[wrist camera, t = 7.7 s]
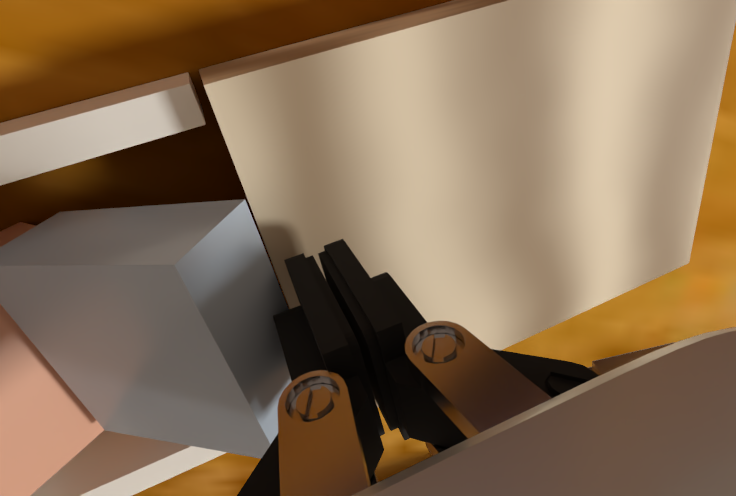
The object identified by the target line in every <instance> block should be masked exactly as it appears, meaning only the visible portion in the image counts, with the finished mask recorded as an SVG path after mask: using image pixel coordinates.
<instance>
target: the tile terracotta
mask: <svg viewBox="0 0 736 496" xmlns="http://www.w3.org/2000/svg"><path fill="white" fill-rule="evenodd" d="M35 226H36V225H31V224H27V223H22V222H19V223H17V224H15V225H12V226H10V227H8V228H6V229H4V230H2V231H0V247H2V246H3V245H5V244H7V243H8V242H10V241H12V240H13V239H15V238H17V237H18V236H20V235H22V234H23V233H25V232H27V231H29V230H30V229H32V228H34V227H35ZM103 431H104V429H103V427H102V426H101V425H100V424H99V423H98V421H97V420H96V419H95V418H94V417H93V415H92V414H91V413H90V412H89V411H88V409H87V408H86V407H85V406H84V404H83V403H82V402H81V401H80V400H79V398H78V397H77V396H76V395H75V394H74V392H73V391H72V390H71V389H70V388H69V386H68V385H67V384H66V383H65V381H64V380H63V379H62V378H61V377H60V375H59V374H58V373H57V372H56V371H55V369H54V368H53V367H52V366H51V365H50V363H49V362H48V361H47V360H46V359H45V357H44V356H43V355H42V354H41V352H40V351H39V350H38V349H37V348H36V346H35V345H34V344H33V343H32V342H31V340H30V339H29V338H28V337H27V336H26V334H25V333H24V332H23V331H22V329H21V328H20V327H19V326H18V325H17V323H16V322H15V321H14V320H13V319H12V317H11V316H10V315H9V314H8V313H7V311H6V310H5V309H4V308H3V306H2V305H1V304H0V496H31V495H32V494H33V493H34V492H35V491H36V490H37V489H38V488H40V487H41V486H42V485H43V484H44V483H45V482H46V481H47V480H49V479H50V478H51V477H52V476H53V475H54V474H55V473H57V472H58V471H59V470H60V469H61V468H62V467H63V466H64V465H66V464H67V463H68V462H69V461H70V460H71V459H72V458H73V457H75V456H76V455H77V454H78V453H79V452H80V451H81V450H82V449H84V448H85V447H86V446H87V445H88V444H89V443H90V442H91V441H93V440H94V439H95V438H96V437H97V436H98V435H99V434H100V433H102V432H103Z"/></svg>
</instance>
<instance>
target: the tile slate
mask: <svg viewBox="0 0 736 496" xmlns="http://www.w3.org/2000/svg"><path fill="white" fill-rule="evenodd" d="M0 304H1V305H2V306H3V308H4V309H5V310H6V311H7V313H8V314H9V315H10V316H11V317H12V319H13V320H14V321H15V322H16V323H17V325H18V326H19V327H20V328H21V329H22V331H23V332H24V333H25V334H26V336H27V337H28V338H29V339H30V340H31V342H32V343H33V344H34V345H35V346H36V348H37V349H38V350H39V351H40V352H41V354H42V355H43V356H44V357H45V359H46V360H47V361H48V362H49V363H50V365H51V366H52V367H53V368H54V369H55V371H56V372H57V373H58V374H59V375H60V377H61V378H62V379H63V380H64V381H65V383H66V384H67V385H68V386H69V388H70V389H71V390H72V391H73V392H74V394H75V395H76V396H77V397H78V398H79V400H80V401H81V402H82V403H83V404H84V406H85V407H86V408H87V409H88V411H89V412H90V413H91V414H92V415H93V417H94V418H95V419H96V420H97V421H98V423H99V424H100V425H101V426H102V427H103V429H104V430H105V431H111V432H116V433H122V434H128V435H133V436H139V437H144V438H150V439H156V440H161V441H167V442H172V443H178V444H183V445H189V446H195V447H200V448H206V449H211V450H217V451H222V452H228V453H234V454H239V455H245V456H250V457H256V458H262V457H263V455H264V454H265V452H266V451H267V449H268V448H269V446H270V445H271V443H272V442H273V440H274V439H275V437H276V436H277V434H278V409H277V408H278V402H279V398H280V396H281V394H282V392H283V390H284V389H285V388H286V387H287V386H288V385H289V384H290V383H291V382H292V381H291V377H290V374H289V370H288V367H287V363H286V360H285V356H284V353H283V349H282V346H281V342H280V339H279V335H278V332H277V329H276V325H275V322H274V318H273V315H276V314H279V313H281V312H284V311H286V310H289V308H288V306H287V303H286V301H285V298H284V296H283V293H282V291H281V288H280V286H279V283H278V281H277V278H276V276H275V273H274V271H273V268H272V266H271V263H270V261H269V258H268V256H267V253H266V251H265V248H264V246H263V243H262V241H261V238H260V236H259V233H258V230H257V228H256V225H255V223H254V220H253V218H252V215H251V213H250V210H249V208H248V205H247V203H246V200H245V199H241V200H226V201H211V202H196V203H182V204H167V205H152V206H138V207H123V208H108V209H93V210H79V211H64V212H59V213H57V214H55V215H54V216H52V217H50V218H49V219H47V220H45V221H44V222H42V223H40V224H39V225H37V226H35V227H34V228H32V229H30V230H29V231H27V232H25V233H23V234H22V235H20V236H18V237H17V238H15V239H13V240H12V241H10V242H8V243H7V244H5V245H3V246H2V247H0Z"/></svg>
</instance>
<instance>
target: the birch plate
mask: <svg viewBox="0 0 736 496" xmlns="http://www.w3.org/2000/svg"><path fill="white" fill-rule="evenodd" d="M735 22H736V0H453V1H449V2H446V3H442V4H438V5H435V6H431V7H427V8H423V9H420V10H416V11H412V12H409V13H405V14H401V15H398V16H394V17H390V18H386V19H383V20H379V21H375V22H372V23H368V24H364V25H361V26H357V27H353V28H350V29H346V30H342V31H338V32H335V33H331V34H327V35H324V36H320V37H316V38H313V39H309V40H305V41H301V42H298V43H294V44H290V45H287V46H283V47H279V48H276V49H272V50H268V51H264V52H261V53H257V54H253V55H250V56H246V57H242V58H239V59H235V60H231V61H228V62H224V63H220V64H216V65H213V66H209V67H205V68H202V69H198V70H199V73H200V76H201V79H202V82H203V85H204V87H205V90H206V93H207V95H208V98H209V100H210V103H211V106H212V108H213V111H214V113H215V116H216V119H217V121H218V124H219V126H220V129H221V132H222V134H223V137H224V139H225V142H226V145H227V147H228V150H229V152H230V155H231V157H232V160H233V163H234V165H235V168H236V170H237V173H238V176H239V178H240V181H241V183H242V186H243V189H244V191H245V194H246V196H247V199H248V202H249V204H250V207H251V209H252V212H253V215H254V217H255V220H256V222H257V225H258V228H259V230H260V233H261V235H262V238H263V240H264V243H265V246H266V248H267V251H268V253H269V256H270V259H271V261H272V264H273V266H274V269H275V272H276V274H277V277H278V279H279V282H280V285H281V287H282V290H283V292H284V295H285V298H286V300H287V303H288V305H289V308H290V309H292V308H294V307H297V306H299V305H300V303H299V300H298V297H297V295H296V292H295V289H294V286H293V284H292V281H291V278H290V275H289V273H288V270H287V267H286V264H285V261H284V260H286V259H288V258H291V257H294V256H297V255H299V254H302V253H304V255H305V257H306V258H307V257H309V256H312V255H313V257H314V259H315V260H316V262H317V264H318V266H319V268H320V270H321V272H322V274H323V276H324V277H325V275H324V272H323V268H322V265H321V262H320V259H319V255H318V253H320V252H323V251H325V250H324V245H327V244H330V243H332V242H335V241H338V240H341V239H343V240H344V241H345V242H346V244H347V245H348V246H349V248H350V249H351V251H352V252H353V254H354V255H355V256H356V258H357V259H358V261H359V262H360V263H361V265H362V266H363V268H364V269H365V271H366V272H367V273H368V275H369V276H370V278H372V277H374V276H377V275H380V274H382V273H385V272H387V273H388V274H389V275H390V276H391V277H392V278H393V279H394V281H395V282H396V283H397V285H398V286H399V287H400V288H401V290H402V291H403V292H404V293H405V295H406V296H407V297H408V298H409V300H410V301H411V302H412V304H413V305H414V306H415V307H416V309H417V310H418V311H419V312H420V314H421V315H422V316H423V318H424V319H425V320H426V321H427V323H428V322H433V321H450V322H453V323H457V324H459V325H461V326H462V327H464V328H465V329H467V330H468V331H469V332H470V333H472V334H473V335H474V336H475V337H477V338H478V339H479V340H480V341H482V342H483V343H484V344H485V345H487V346H488V347H489V348H490V349H494V350H502V349H504V348H507V347H509V346H511V345H513V344H515V343H517V342H520V341H522V340H524V339H526V338H528V337H530V336H533V335H535V334H537V333H539V332H541V331H543V330H545V329H548V328H550V327H552V326H554V325H556V324H558V323H561V322H563V321H565V320H567V319H569V318H571V317H573V316H576V315H578V314H580V313H582V312H584V311H586V310H589V309H591V308H593V307H595V306H597V305H599V304H602V303H604V302H606V301H608V300H610V299H612V298H614V297H617V296H619V295H621V294H623V293H625V292H627V291H630V290H632V289H634V288H636V287H638V286H640V285H642V284H645V283H647V282H649V281H651V280H653V279H655V278H658V277H660V276H662V275H664V274H666V273H668V272H671V271H673V270H675V269H677V268H679V267H681V266H683V265H686V264H688V263H689V260H690V255H691V250H692V244H693V239H694V234H695V229H696V224H697V219H698V213H699V208H700V203H701V198H702V193H703V188H704V182H705V177H706V172H707V167H708V162H709V157H710V151H711V146H712V141H713V136H714V131H715V126H716V120H717V115H718V110H719V105H720V100H721V95H722V89H723V84H724V79H725V74H726V69H727V64H728V58H729V53H730V48H731V43H732V38H733V33H734V27H735ZM325 279H326V278H325ZM375 401H376V400H375ZM376 405H377V407H379V406H378V404H377V402H376Z"/></svg>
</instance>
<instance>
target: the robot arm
mask: <svg viewBox="0 0 736 496" xmlns="http://www.w3.org/2000/svg"><path fill="white" fill-rule="evenodd" d="M324 250H325V251H323V252H320V253H318V255H319V259H320V262H321V265H322V268H323V272H324V275H325V277H324V276H323V274H322V272H321V270H320V268H319V266H318V264H317V262H316V260H315V259H314V257H313V255H312V256H309V257H307V258H306V257H305V255H304V253H302V254H299V255H297V256H294V257H291V258H288V259H286V260H284V261H285V264H286V267H287V270H288V273H289V275H290V278H291V281H292V284H293V286H294V289H295V292H296V295H297V297H298V300H299V303H300V305H299V306H297V307H294V308H292V309H289V310H286V311H284V312H281V313H279V314H276V315H273V318H274V322H275V325H276V329H277V332H278V335H279V339H280V342H281V346H282V349H283V353H284V356H285V360H286V363H287V367H288V370H289V374H290V377H291V381H292V382H291V383H290V384H289V385H288V386H287V387H286V388H285V389H284V390H283V392H282V394H281V396H280V398H279V402H278V408H277V409H278V434H277V436H276V437H275V439H274V440H273V442H272V443H271V445H270V446H269V448H268V449H267V451H266V452H265V454H264V455H263V457H262V458H261V460H260V461H259V463H258V465H257V466H256V468H255V469H254V471H253V472H252V474H251V475H250V477H249V478H248V480H247V481H246V483H245V484H244V486H243V487H242V489H241V490H240V492H239V494H238V495H237V496H736V327H732V328H727V329H722V330H717V331H713V332H708V333H704V334H700V335H697V336H694V337H691V338H688V339H685V340H682V341H678V342H676V343H670V344H666V345H661V346H657V347H652V348H648V349H644V350H639V351H635V352H631V353H626V354H622V355H618V356H613V357H609V358H605V359H600V360H596V361H592V367H589V368H587V367H585V366H583V365H580V364H576V363H573V362H568V361H562V360H555V359H549V358H543V357H537V356H531V355H525V354H519V353H513V352H507V351H501V350H494V349H490V348H489V347H488V346H487V345H485V344H484V343H483V342H482V341H480V340H479V339H478V338H477V337H475V336H474V335H473V334H472V333H470V332H469V331H468V330H467V329H465V328H464V327H462V326H461V325H459V324H457V323H453V322H450V321H433V322H428V323H427V321H426V320H425V319H424V318H423V316H422V315H421V314H420V312H419V311H418V310H417V309H416V307H415V306H414V305H413V304H412V302H411V301H410V300H409V298H408V297H407V296H406V295H405V293H404V292H403V291H402V290H401V288H400V287H399V286H398V285H397V283H396V282H395V281H394V279H393V278H392V277H391V276H390V275H389V274H388V273H387V272H385V273H382V274H380V275H377V276H374V277H372V278H370V276H369V275H368V273H367V272H366V271H365V269H364V268H363V266H362V265H361V263H360V262H359V261H358V259H357V258H356V256H355V255H354V254H353V252H352V251H351V249H350V248H349V246H348V245H347V244H346V242H345V241H344V240H343V239H341V240H338V241H335V242H332V243H330V244H327V245H324ZM325 278H326V279H325ZM375 400H376V401H375ZM376 402H377V404H378V406H379V408H380V410H381V412H382V414H383V417H384V419H385V421H386V423H387V425H388V427H389V429H390V430H391V431H392V430H394V429H396V428H399V430H400V432H401V434H402V436H403V438H404V440H407V439H409V438H413V439H417V440H420V441H424V442H425V443H426V447H427V448H428V450H429V452H430V454H431V455H432V457H430V458H428V459H426V460H424V461H421V462H419V463H417V464H415V465H413V466H411V467H409V468H407V469H405V470H403V471H401V472H399V473H397V474H395V475H393V476H391V477H389V478H387V479H385V480H382V481H380V482H378V479H377V476H376V473H375V469H376V467H377V465H378V462H379V460H380V458H381V455H382V453H383V451H384V448H383V445H382V441H381V438H380V436H381V435H383V434H385V432H384V429H383V425H382V422H381V418H380V415H379V411H378V408H377V405H376Z"/></svg>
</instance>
